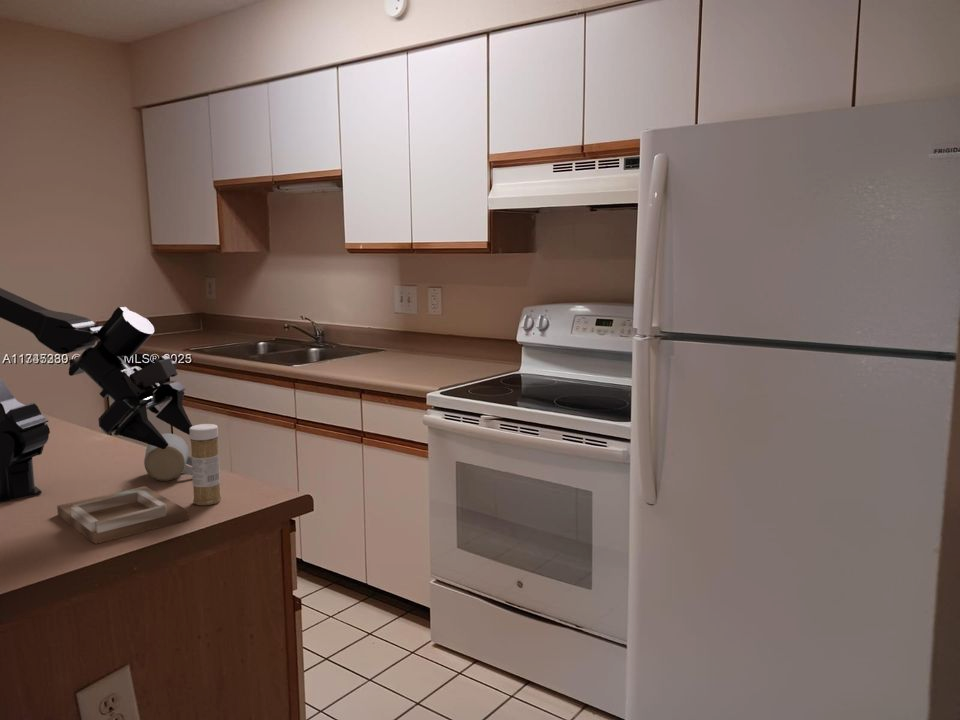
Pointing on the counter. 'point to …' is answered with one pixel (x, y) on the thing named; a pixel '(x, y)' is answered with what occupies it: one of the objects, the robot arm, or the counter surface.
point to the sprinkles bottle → (205, 464)
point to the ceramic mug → (168, 459)
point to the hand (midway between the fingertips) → (180, 440)
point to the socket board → (121, 514)
